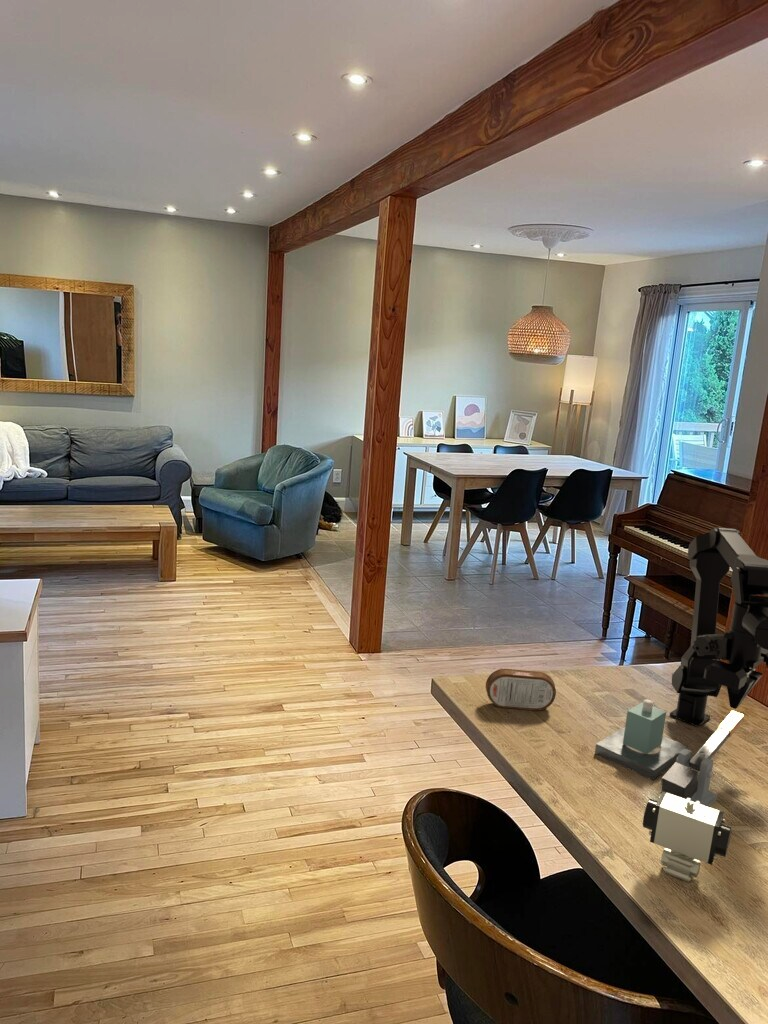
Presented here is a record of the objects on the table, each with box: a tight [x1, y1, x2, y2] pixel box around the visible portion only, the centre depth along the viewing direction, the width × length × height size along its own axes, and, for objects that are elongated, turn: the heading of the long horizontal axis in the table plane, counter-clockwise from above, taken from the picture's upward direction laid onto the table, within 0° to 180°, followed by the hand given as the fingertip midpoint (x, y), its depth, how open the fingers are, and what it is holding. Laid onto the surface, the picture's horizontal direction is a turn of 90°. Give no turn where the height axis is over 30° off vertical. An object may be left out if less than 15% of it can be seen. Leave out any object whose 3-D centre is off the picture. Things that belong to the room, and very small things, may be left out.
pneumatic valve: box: [642, 790, 733, 883], centre depth 115 cm, size 6×12×12 cm, turn 58°
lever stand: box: [676, 748, 718, 807], centre depth 136 cm, size 6×7×8 cm
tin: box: [485, 668, 557, 711], centre depth 166 cm, size 15×3×8 cm, turn 87°
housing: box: [623, 699, 667, 754], centre depth 149 cm, size 6×5×9 cm
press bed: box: [594, 726, 689, 781], centre depth 150 cm, size 14×12×2 cm
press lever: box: [661, 710, 745, 799], centre depth 138 cm, size 26×4×4 cm, turn 134°
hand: (733, 707), depth 144 cm, fingers closed
